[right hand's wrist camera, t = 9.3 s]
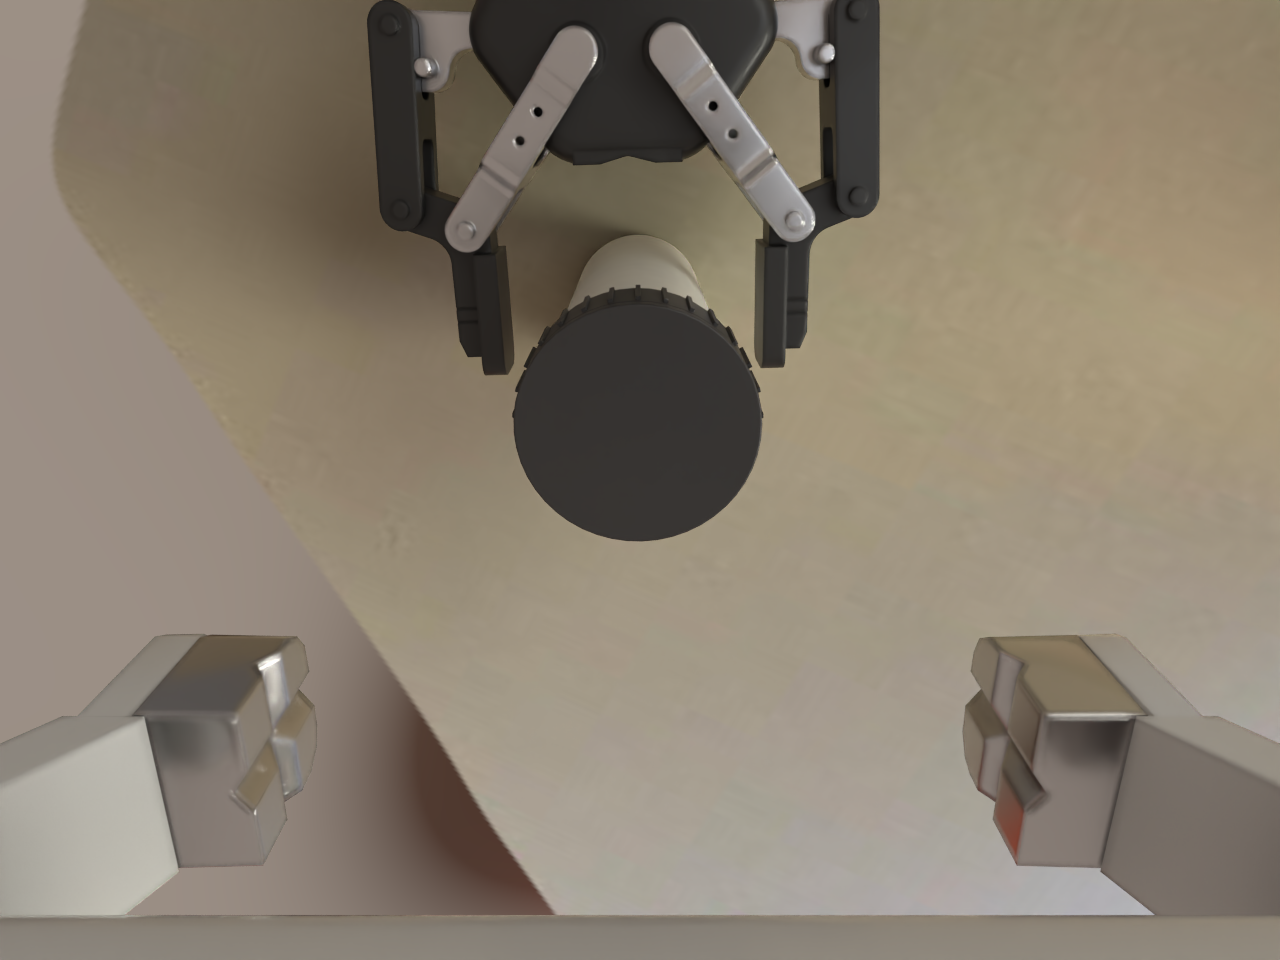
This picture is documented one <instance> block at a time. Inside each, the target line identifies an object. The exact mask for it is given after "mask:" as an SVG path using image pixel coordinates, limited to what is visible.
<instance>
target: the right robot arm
mask: <svg viewBox="0 0 1280 960" xmlns="http://www.w3.org/2000/svg"><path fill="white" fill-rule="evenodd" d="M308 673H309V667H308V662H307V657H306V651H305V646H304V644H303V643H302V642H301V641H300V639H299V638H298V637H297V636H246V635H205V634H180V635H162V636H156V637H154V638H153V639H152V640H151V641H150V642H149V643H148V644H147V645H146V646H145V647H144V648H143V649H142V651H141V652H140V653H139V654H138V655H137V656H136V657H135V658H134V659H133V660H132V661H131V662H130V663H129V664H128V665H127V666H126V667H125V668H124V669H123V670H122V671H121V672H120V673H119V674H118V675H117V676H116V677H115V678H114V679H113V680H112V681H111V682H110V683H109V684H108V685H107V686H106V687H105V688H104V689H103V691H101V692H100V694H99V695H98V696H97V697H96V698H95V699H94V700H93V701H92V702H91V703H90V704H89V705H88V706H87V707H86V708H85V709H84V710H83V711H82V712H81V713H80V714H79V715H78V716H62V717H60V718H58V719H55V720H53V721H51V722H48V723H46V724H44V725H42V726H39V727H37V728H35V729H33V730H30V731H28V732H26V733H23V734H21V735H19V736H17V737H14V738H12V739H10V740H8V741H5V742H3V743H1V744H0V960H1280V744H1279V743H1277V742H1275V741H1272V740H1270V739H1268V738H1265V737H1263V736H1261V735H1259V734H1256V733H1254V732H1252V731H1250V730H1247V729H1245V728H1243V727H1241V726H1238V725H1236V724H1234V723H1232V722H1229V721H1227V720H1225V719H1223V718H1220V717H1218V716H1202V715H1201V714H1200V713H1199V712H1198V711H1197V710H1196V709H1195V708H1194V707H1193V706H1192V705H1191V704H1190V703H1189V702H1188V701H1187V700H1186V699H1185V698H1184V696H1183V695H1182V694H1181V693H1180V692H1179V691H1178V690H1177V689H1176V688H1175V687H1174V686H1173V685H1172V684H1171V683H1170V682H1169V681H1168V680H1167V679H1166V678H1165V677H1164V676H1163V675H1162V674H1161V673H1160V672H1159V671H1158V670H1157V669H1156V668H1155V667H1154V666H1153V665H1152V664H1151V663H1150V662H1149V661H1148V660H1147V658H1146V657H1145V656H1144V655H1143V654H1142V653H1141V652H1140V651H1139V650H1138V649H1137V648H1136V647H1135V646H1134V645H1133V644H1132V643H1131V642H1130V641H1129V640H1128V639H1127V638H1126V637H1123V636H1120V635H1117V634H1095V635H1057V636H1016V637H987V638H980V639H979V641H978V643H977V646H976V648H975V650H974V654H973V660H972V667H971V673H972V674H973V676H974V678H975V679H976V681H977V683H978V684H979V686H980V688H981V690H980V691H979V692H978V693H977V694H976V695H975V696H974V697H973V698H972V699H971V700H970V701H969V703H968V704H967V705H966V706H965V715H964V724H963V742H964V753H965V759H966V762H967V766H968V769H969V773H970V775H971V777H972V779H973V781H974V783H975V786H976V788H977V790H978V791H980V792H981V793H983V794H984V795H986V796H987V797H989V798H990V799H992V800H993V801H995V809H994V815H993V821H994V823H995V825H996V827H997V828H998V830H999V832H1000V834H1001V836H1002V838H1003V840H1004V842H1005V844H1006V846H1007V847H1008V849H1009V851H1010V853H1011V855H1012V857H1013V859H1014V861H1015V863H1016V865H1017V866H1050V867H1087V868H1101V871H1100V872H1102V873H1103V874H1104V875H1105V876H1107V877H1108V878H1109V879H1111V880H1112V881H1113V882H1114V883H1116V884H1117V885H1118V886H1119V887H1121V888H1122V889H1123V890H1124V891H1126V892H1127V893H1128V894H1129V895H1131V896H1132V897H1133V898H1134V899H1136V900H1137V901H1138V902H1140V903H1141V904H1142V905H1143V906H1145V907H1146V908H1147V909H1148V910H1150V911H1151V912H1152V913H1153V914H1155V915H126V914H127V913H128V912H129V911H131V910H132V909H133V908H134V907H136V906H137V905H138V904H139V903H141V902H142V901H143V900H145V899H146V898H147V897H148V896H150V895H151V894H152V893H153V892H155V891H156V890H157V889H158V888H160V887H161V886H162V885H164V884H165V883H166V882H167V881H169V880H170V879H171V878H172V877H174V876H175V875H176V874H177V873H179V868H193V867H227V866H262V865H264V863H265V861H266V859H267V857H268V855H269V853H270V851H271V849H272V848H273V846H274V844H275V842H276V840H277V838H278V836H279V834H280V832H281V830H282V828H283V826H284V825H285V823H286V821H287V815H286V809H285V801H287V800H288V799H290V798H291V797H293V796H294V795H296V794H297V793H299V792H300V791H302V790H303V787H304V785H305V783H306V781H307V779H308V777H309V775H310V773H311V770H312V766H313V761H314V756H315V752H316V746H317V721H316V714H315V706H314V705H313V704H312V703H311V701H310V700H309V699H308V698H307V697H306V696H305V695H304V694H303V693H302V692H301V691H300V690H299V688H300V686H301V684H302V682H303V681H304V679H305V678H306V676H307V674H308Z"/></svg>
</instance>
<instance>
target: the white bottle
mask: <svg viewBox="0 0 1280 960" xmlns="http://www.w3.org/2000/svg"><path fill="white" fill-rule="evenodd" d="M636 285H641V288H650V289H656V290H661V289H662V287H664V288H667V292H670V293H673V294H676V295H680V296H682V297H684V298H686V296H687V295H688V296H690V297H691V298H692V301H693V302H694V303H696V304H698V305H699V306H701V307H702V308H704V309H706V310H707V311H708V310H709V308H708V306H707V303H706V301H705V298H704V296H703V293H702V291H701V288H700V286H699V283H698V280H697V278H696V275H695V273H694V271H693V269H692V267H691V265H690V263H689V262H688V260H687V259H686V257H685V256H684V255H683V254H682V253H681V252H680V251H679V250H678V249H677V248H675V247H674V246H673V245H671V244H669V243H668V242H666V241H664V240H662V239H659V238H656V237H653V236H647V235H628V236H624V237H620V238H617V239H615V240H612V241H611V242H609V243H607V244H605V245H604V246H603V247H601V248H600V249H599V250H598V251H597V252H596V253H595V254H594V255H593V256H592V257H591V258H590V260H589V261H588V262H587V264H586V266H585V268H584V270H583V272H582V274H581V277H580V279H579V282H578V284H577V287H576V289H575V292H574V294H573V297H572V299H571V302H570V304H569V307H568V311H569V310H571V309H572V308H573V307H575V306H576V305H578V304H580V303H582V302H583V301H584V298H585V297H586V296H588V295H589V296H590V298H592V297H594V296H597V295H599V294H602V293H606V292H609V288H611V287H614V289H615V290H618V289H628V288H636Z"/></svg>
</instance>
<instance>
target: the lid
mask: <svg viewBox="0 0 1280 960" xmlns="http://www.w3.org/2000/svg"><path fill="white" fill-rule="evenodd" d="M538 344H539V345H538V347H537V348H535V347H533V348H532V350H531V352H530V354H529V356H528V358H527V360H526V363H525V365H524V367H526V368H527V369H526V370H524V372H523V374H522V376H521V378H520V380H519V382H518V384H517V386H516V390H515V392H518V394H517V397H516V401H515V409H514V411H513V413H512V417H513V418H514V436H515V442H516V448H517V452H518V455H519V458H520V462H521V464H522V466H523V469H524V471H525V473H526V475H527V477H528V479H529V480H530V482H531V484H532V485H533V487H534V488H535V490H536V491H537V492H538V494H539V495H540V496H541V497H542V498H543V500H544V501H545V502H546V503H547V504H548V505H549V506H550V507H551V508H552V509H553V510H555V511H556V512H557V513H558V514H560V515H561V516H562V517H564V518H565V519H566V520H568V521H569V522H571V523H573V524H575V525H576V526H578V527H580V528H582V529H584V530H586V531H589V532H591V533H594V534H596V535H600V536H604V537H607V538H611V539H617V540H624V541H651V540H659V539H664V538H669V537H673V536H676V535H679V534H682V533H685V532H687V531H689V530H691V529H694V528H696V527H698V526H700V525H702V524H703V523H705V522H706V521H708V520H709V519H711V518H712V517H714V516H715V515H716V514H718V513H719V512H720V511H721V510H722V509H723V508H725V507H726V506H727V505H728V504H729V503H730V501H731V500H732V499H733V498H734V497H735V496H736V495H737V493H738V492H739V491H740V489H741V488H742V486H743V485H744V484H745V482H746V480H747V478H748V476H749V474H750V472H751V471H752V468H753V466H754V463H755V460H756V458H757V455H758V450H759V446H760V441H761V432H762V418H763V412H762V410H761V404H760V399H759V394H758V393H759V392H761V391H760V387H759V385H758V383H757V381H756V379H755V377H754V375H753V372H752V370H751V371H750V370H749V368H751V367H752V365H751V363H750V361H749V359H748V357H747V355H746V353H745V351H744V349H743V347H741V348H740V349H739V347H738V345H737V344H738V343H737V341H736V339H735V336H734V334H733V332H732V330H731V328H730V327H729V326H728V327H726V328H725V327H724V326H723V325H722V324H721V323H720V321H719V320H718V319H716V317H715V314H714V312H713V311H712V310H711V309H709V310H708V311H707V310H706V309H704V308H702V307H701V306H699V305H698V304H696V303H694V302H693V301H692V298H691V297H690V296H688V295H687V296H686V298H684V297H682V296H680V295H676V294H673V293H670V292H667V288H664V287H662V289H661V290H656V289H650V288H641V285H636V288H628V289H618V290H615V289H614V287H611V288H609V292H606V293H602V294H599V295H597V296H594V297H592V298H590V296H589V295H588V296H586V297H585V298H584V301H583V302H582V303H580V304H578V305H576V306H575V307H573V308H572V309H571V310H569V311H568V309H567V308H566V309H565V310H563V312H562V314H561V317H560V319H558V320H557V321H556V322H555V323H554V324H553V325H552V327H551V328H550V327H549V326H547V327H546V328H545V330H544V332H543V334H542V336H541V338H540V340H539V342H538Z"/></svg>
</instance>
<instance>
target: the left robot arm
mask: <svg viewBox="0 0 1280 960" xmlns="http://www.w3.org/2000/svg"><path fill="white" fill-rule="evenodd" d="M367 29H368V43H369V58H370V72H371V87H372V101H373V116H374V130H375V145H376V159H377V174H378V189H379V203H380V213H381V216H382V218H383V220H384V221H385V223H386V224H387V225H388V226H389V227H391V228H392V229H394V230H397V231H410V232H413V233H416V234H419V235H422V236H425V237H428V238H431V239H433V240H436V241H437V242H439V243H440V244H441V245H443V247H444V248H445V249H446V250H447V252H448V253H449V255H450V258H451V262H452V271H453V280H454V290H455V300H456V308H457V319H458V329H459V339H460V343H461V345H462V347H463V349H464V351H465V352H466V354H467V356H468V357H482V365H483V371H484V374H485V375H508V373H509V372H510V370H511V368H512V366H513V364H514V342H513V329H512V317H511V305H510V292H509V280H508V268H507V256H506V246H498V240H497V232H498V230H499V229H500V227H501V226H502V224H503V223H504V221H505V219H506V218H507V216H508V215H509V213H510V212H511V210H512V208H513V207H514V205H515V204H516V202H517V201H518V199H519V197H520V196H521V194H522V193H523V191H524V190H525V188H526V187H527V186H528V184H529V183H530V182H531V180H532V179H533V177H534V176H535V174H536V173H537V171H538V170H539V168H540V166H541V165H542V163H543V162H544V160H545V159H546V157H547V155H548V154H549V152H551V153H552V154H554V155H555V156H557V157H559V158H560V159H562V160H565V161H567V162H571V163H573V165H596V164H603V163H606V162H609V161H612V160H615V159H618V158H621V157H624V156H631V157H635V158H639V159H643V160H647V161H651V162H655V163H657V162H682V160H683V159H686V158H689V157H691V156H693V155H695V154H696V153H698V152H699V151H700V150H702V149H703V148H704V147H705V146H707V147H708V148H709V150H710V151H711V152H712V154H713V155H714V157H715V158H716V159H717V161H718V162H719V163H720V165H721V166H722V167H723V169H724V170H725V171H726V173H727V174H728V175H729V177H730V178H731V179H732V180H733V181H734V183H735V184H736V185H737V187H738V188H739V189H740V191H741V192H742V193H743V195H744V196H745V197H746V199H747V200H748V201H749V203H750V204H751V206H752V207H753V208H754V210H755V211H756V212H757V214H758V215H759V216H760V218H761V219H762V220H763V239H756V253H755V327H754V349H755V357H756V360H757V362H758V364H759V366H760V368H778V367H784V364H785V349H786V348H800V346H801V344H802V342H803V339H804V337H805V335H806V332H807V311H808V281H809V253H810V247H811V244H812V242H813V240H814V239H815V237H816V236H817V235H818V234H819V233H820V232H821V231H822V230H824V229H826V228H828V227H830V226H833V225H835V224H838V223H840V222H843V221H845V220H848V219H850V218H860V217H864V216H866V215H868V214H869V213H871V212H872V211H873V210H874V208H875V207H876V205H877V203H878V200H879V60H880V7H879V0H784V1H775V2H774V0H477V1H476V3H475V5H474V8H473V10H472V12H454V11H424V10H411V9H409V8H407V7H406V6H404V5H402V4H400V3H398V2H396V1H393V0H382V1H379V2H378V3H376V4H375V5H374V6H373V7H372V8H371V10H370V11H369V14H368V18H367ZM775 41H780V42H783V43H785V44H786V45H787V46H789V47H790V49H791V50H792V52H793V53H794V56H795V61H796V66H797V69H798V71H799V72H800V73H801V75H802V76H804V77H805V78H807V79H809V80H819V103H820V151H821V179H820V180H818V181H815V182H813V183H810V184H808V185H805V186H803V187H801V188H798V187H797V186H796V184H795V183H794V182H793V180H792V179H791V177H790V176H789V175H788V173H787V172H786V170H785V169H784V168H783V166H782V165H781V163H780V162H779V160H778V159H777V157H776V155H775V153H774V151H773V150H772V148H771V146H770V145H769V144H768V142H767V141H766V139H765V138H764V137H763V135H762V134H761V132H760V131H759V130H758V128H757V127H756V125H755V124H754V123H753V121H752V120H751V118H750V117H749V115H748V114H747V113H746V111H745V110H744V108H743V107H742V106H741V104H740V103H739V101H738V98H739V97H740V95H741V94H742V92H743V91H744V89H745V88H746V86H747V85H748V83H749V82H750V80H751V79H752V77H753V76H754V74H755V73H756V71H757V70H758V68H759V67H760V65H761V63H762V62H763V60H764V59H765V57H766V56H767V54H768V53H769V51H770V50H771V48H772V46H773V44H774V42H775ZM472 51H474V53H475V55H476V57H477V58H478V60H479V61H480V62H481V64H482V65H483V66H484V68H485V69H486V70H487V72H488V73H489V74H490V76H491V77H492V78H493V79H494V81H495V82H496V83H497V85H498V86H499V87H500V89H501V90H502V91H503V93H504V94H505V95H506V97H507V98H508V99H509V100H510V102H511V103H512V104H513V106H514V108H513V109H512V111H511V112H510V114H509V116H508V117H507V119H506V121H505V122H504V124H503V126H502V127H501V129H500V130H499V132H498V134H497V135H496V137H495V139H494V140H493V142H492V143H491V145H490V147H489V148H488V150H487V152H486V153H485V155H484V157H483V159H482V161H481V163H480V165H479V168H478V170H477V172H476V174H475V175H474V177H473V179H472V180H471V182H470V183H469V185H468V187H467V188H466V190H465V192H464V193H463V195H462V196H461V198H458V197H455V196H452V195H449V194H446V193H443V192H440V191H439V188H438V167H437V145H436V124H435V102H434V93H441V92H444V91H446V90H447V89H449V87H450V86H451V85H452V84H453V81H454V79H455V72H456V66H457V64H458V62H459V60H460V59H461V57H462V56H464V55H465V54H467V53H469V52H472Z"/></svg>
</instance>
